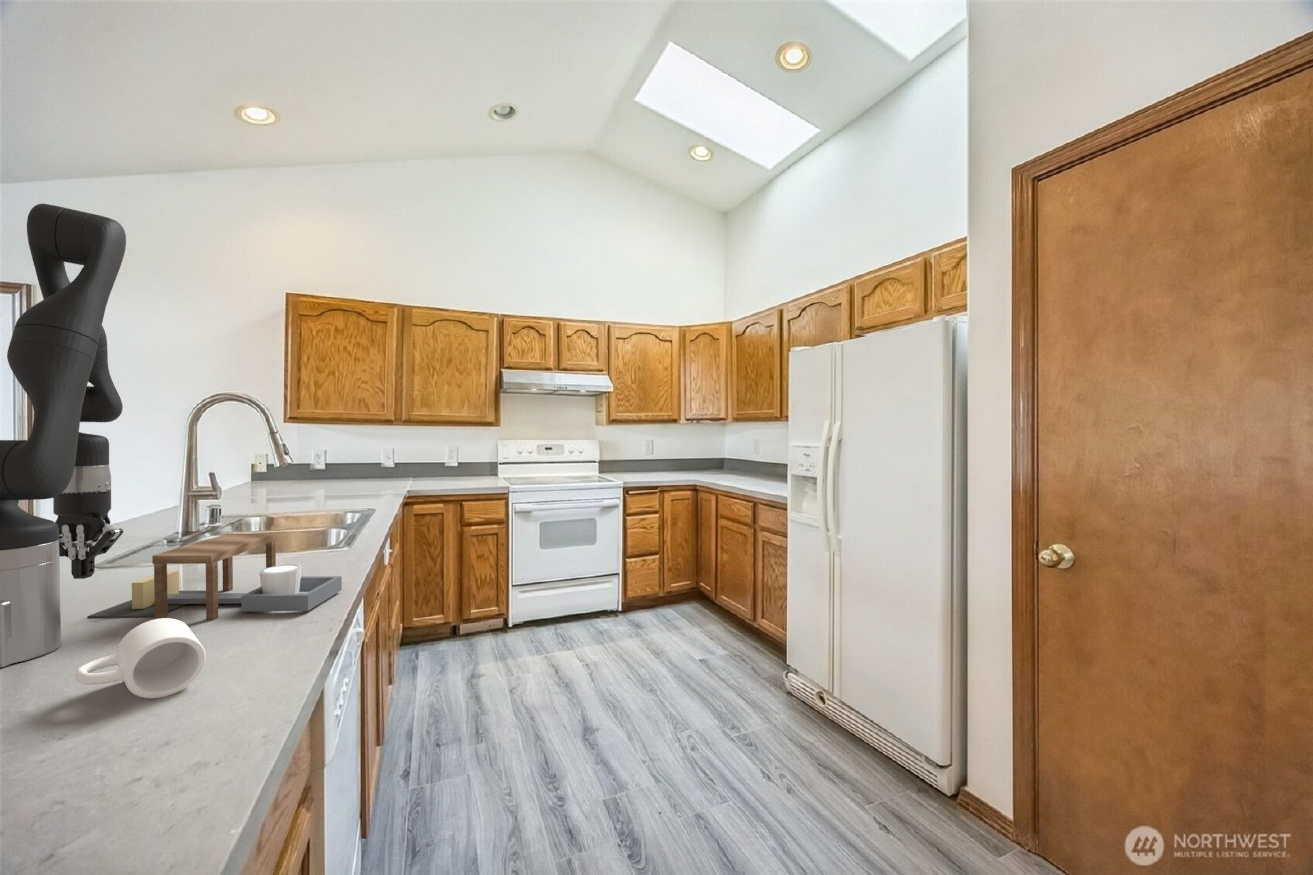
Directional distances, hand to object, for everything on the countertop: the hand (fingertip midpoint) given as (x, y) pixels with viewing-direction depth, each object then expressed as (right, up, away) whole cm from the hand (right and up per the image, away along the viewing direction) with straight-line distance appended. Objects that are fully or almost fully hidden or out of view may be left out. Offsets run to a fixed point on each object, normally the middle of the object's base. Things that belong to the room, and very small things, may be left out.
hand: (83, 577), depth 100 cm
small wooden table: (+25, -6, +3) cm, 25 cm away
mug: (+41, -8, -30) cm, 51 cm away
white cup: (+36, -6, +3) cm, 37 cm away
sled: (+28, -5, +3) cm, 29 cm away
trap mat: (+13, -6, +2) cm, 14 cm away
